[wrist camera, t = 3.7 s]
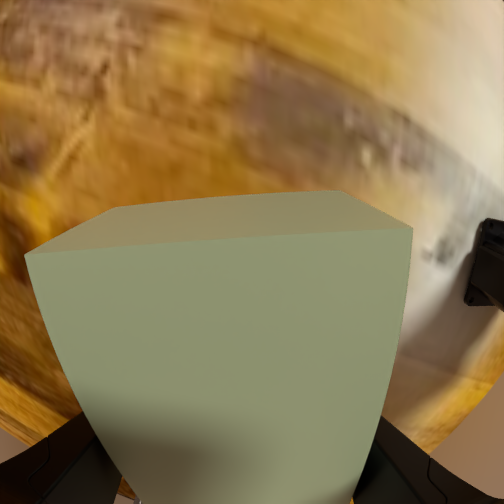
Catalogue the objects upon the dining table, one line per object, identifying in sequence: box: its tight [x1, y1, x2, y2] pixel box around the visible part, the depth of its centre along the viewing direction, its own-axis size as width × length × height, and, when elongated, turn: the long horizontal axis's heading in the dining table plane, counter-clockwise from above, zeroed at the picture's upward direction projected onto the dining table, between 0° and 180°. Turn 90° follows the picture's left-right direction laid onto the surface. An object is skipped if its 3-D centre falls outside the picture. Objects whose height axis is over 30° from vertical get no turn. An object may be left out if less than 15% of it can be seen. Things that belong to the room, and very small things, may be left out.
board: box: [24, 190, 413, 504], centre depth 8 cm, size 12×6×4 cm, turn 4°
